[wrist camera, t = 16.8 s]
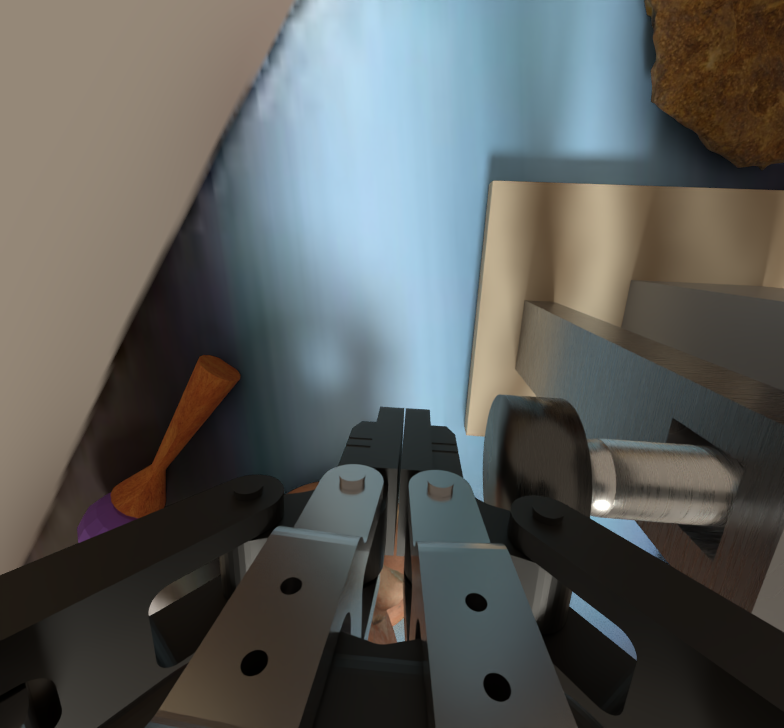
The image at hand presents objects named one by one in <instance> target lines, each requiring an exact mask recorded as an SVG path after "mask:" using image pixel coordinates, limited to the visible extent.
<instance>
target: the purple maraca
mask: <svg viewBox="0 0 784 728" xmlns="http://www.w3.org/2000/svg"><path fill="white" fill-rule="evenodd" d="M239 379H240V374H239V372H238V370H236V369H235V368H233V367H232V366H230V365H229V364H227V363H226V362H224V361H223V360H221V359H220V358H218V357H214V356H211V355H203V356H200V357H199V359H198V361H197V364H196V366H195V368H194V371H193V373H192V375H191V377H190V380H189V382H188V384H187V386H186V389H185V391H184V393H183V395H182V398H181V400H180V402H179V404H178V407H177V409H176V411H175V414H174V416H173V418H172V420H171V423H170V425H169V427H168V429H167V432H166V434H165V436H164V438H163V441H162V443H161V445H160V447H159V450H158V452H157V454H156V456H155V459H154V461H153V463H152V464H151V465H150V466H148V467H146V468H144V469H143V470H141V471H139V472H138V473H136V474H134V475H133V476H131V477H129V478H128V479H126V480H124V481H122V482H121V483H119V484H118V485H117V486H115V487H114V488H113V490H112V492H111V493H108V494H107V495H105V496H104V497H102V498H101V499H99V500H98V501H96V502H95V503H94V504H92V505H91V506H89V508H88V509H87V511H86V513H85V514H84V516H83V518H82V520H81V522H80V524H79V526H78V527H77V531H78V543H80V542H82V541H85V540H87V539H90V538H92V537H95V536H97V535H99V534H102V533H104V532H107V531H109V530H112V529H114V528H116V527H119V526H121V525H124V524H126V523H129V522H131V521H133V520H136V519H138V518H141V517H143V516H146V515H148V514H150V513H153V512H155V511H158V510H160V509H163V508H164V507H165V503H166V468H167V467H168V466H169V465H170V463H171V462H172V461H173V460H174V459H175V457H176V456H177V455H178V454H179V453H180V451H181V450H182V449H183V448H184V446H185V445H186V444H187V443H188V442H189V440H190V439H191V438H192V437H193V435H194V434H195V433H196V432H197V431H198V429H199V428H200V427H201V426H202V425H203V423H204V422H205V421H206V420H207V418H208V417H209V416H210V415H211V414H212V412H213V411H214V410H215V409H216V407H217V406H218V405H219V404H220V403H221V401H222V400H223V399H224V398H225V397H226V395H227V394H228V393H229V392H230V390H231V389H232V388H233V387H234V386H235V384H236V383H237V382H238V381H239Z"/></svg>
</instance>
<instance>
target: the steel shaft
mask: <svg viewBox="0 0 784 728" xmlns="http://www.w3.org/2000/svg"><path fill="white" fill-rule="evenodd" d="M744 468H745V465H743V464H742V463H740V462H739V461H737V460H736V459H734V458H733V457H731V456H730V455H728V454H727V453H725V452H724V451H722V450H721V449H719V448H718V447H715V446H701V445H686V444H672V443H657V442H643V441H628V440H614V439H599V438H591V439H587V438H586V434H585V431H584V428H583V425H582V422H581V420H580V418H579V415H578V413H577V412H576V410H575V408H574V407H573V406H572V405H571V403H569V402H568V401H567V400H565V399H562V398H548V397H532V396H517V395H501V394H499V395H497V396H496V397H495V399H494V400H493V402H492V405H491V408H490V411H489V415H488V419H487V425H486V431H485V440H484V451H483V497H484V503H486V504H489V505H492V506H495V507H498V508H502V509H506V510H509V511H510V510H511V505H512V503H513V502H514V501H515V500H516V499H518V498H520V497H524V496H531V495H534V496H544V497H548V498H552V499H555V500H558V501H560V502H562V503H564V504H566V505H568V506H569V507H571V508H573V509H575V510H576V511H578V512H580V513H581V514H583V515H585V516H587V517H588V518H590V515H591V516H595V517H601V518H613V519H626V520H639V521H651V522H664V523H676V524H689V525H701V526H714V527H725V525H726V522H727V519H728V516H729V513H730V510H731V507H732V504H733V501H734V498H735V495H736V492H737V489H738V486H739V483H740V480H741V477H742V474H743V471H744Z"/></svg>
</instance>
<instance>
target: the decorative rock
mask: <svg viewBox="0 0 784 728" xmlns="http://www.w3.org/2000/svg"><path fill="white" fill-rule="evenodd" d="M644 2H645V8H646V12H647V15H649V16H650V17H652V18H651V22H652V27H653V29H654V33H653V42H654V46H655V50H656V61H655V63H654V65H653V67H652V69H651V79H652V96H651V102H652V103H655V104H656V105H657V106H658V107H659V108H660V109H661V110H662V111H664V112H665V113H667V114H668V115H670V116H671V117H673V118H675V119H676V120H677V121H678V122H679V123H680V124H682V125H683V126H685V127H687V128H689V129H692V130H693V131H694V132H695V133H697V134H698V136H699V139H700V140H701V142H702V143H703V144H704V145H705V147H706V148H707V149H708V150H710V151H713V152H715V153H717V154H719V155H721V156H723V157H724V158H726V159H727V160H729V161H730V162H731V163H733V164H734V165H735V166H736V167H737V168H741V167H750V166H758V167H759V168H760V169H761V171H762V170H763V169H765V168H766V167H767V166H768V165H770V164H776V163H783V162H784V0H645V1H644Z"/></svg>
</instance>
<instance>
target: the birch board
mask: <svg viewBox="0 0 784 728" xmlns="http://www.w3.org/2000/svg"><path fill="white" fill-rule="evenodd" d="M631 280H642V281H664V282H685V283H706V284H728V285H749V286H766V287H775V288H784V191H783V190H754V189H724V188H695V187H665V186H636V185H607V184H577V183H548V182H518V181H492V182H491V183H490V184H489V191H488V201H487V211H486V220H485V230H484V240H483V250H482V259H481V269H480V279H479V289H478V298H477V308H476V318H475V328H474V337H473V347H472V357H471V367H470V376H469V386H468V396H467V406H466V415H465V425H464V427H465V431H466V435H472V436H485V431H486V425H487V419H488V415H489V411H490V408H491V405H492V402H493V400H494V399H495V397H496V396H497V395H499V394H501V395H517V396H532V397H537V396H536V395H535V394H534V393H533V391H532V390H531V389H530V387H529V386H528V385H527V384H526V382H525V381H524V380H523V379H522V377H521V376H520V375H519V374H518V372H517V371H516V370H515V367H516V359H517V352H518V345H519V337H520V330H521V323H522V315H523V308H524V301H525V300H529V301H549V302H556V303H559V304H561V305H564V306H566V307H569V308H571V309H574V310H577V311H579V312H582V313H584V314H587V315H589V316H592V317H595V318H597V319H600V320H602V321H605V322H608V323H610V324H613V325H615V326H618V327H620V328H621V326H622V321H623V316H624V311H625V307H626V302H627V297H628V292H629V287H630V283H631Z"/></svg>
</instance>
